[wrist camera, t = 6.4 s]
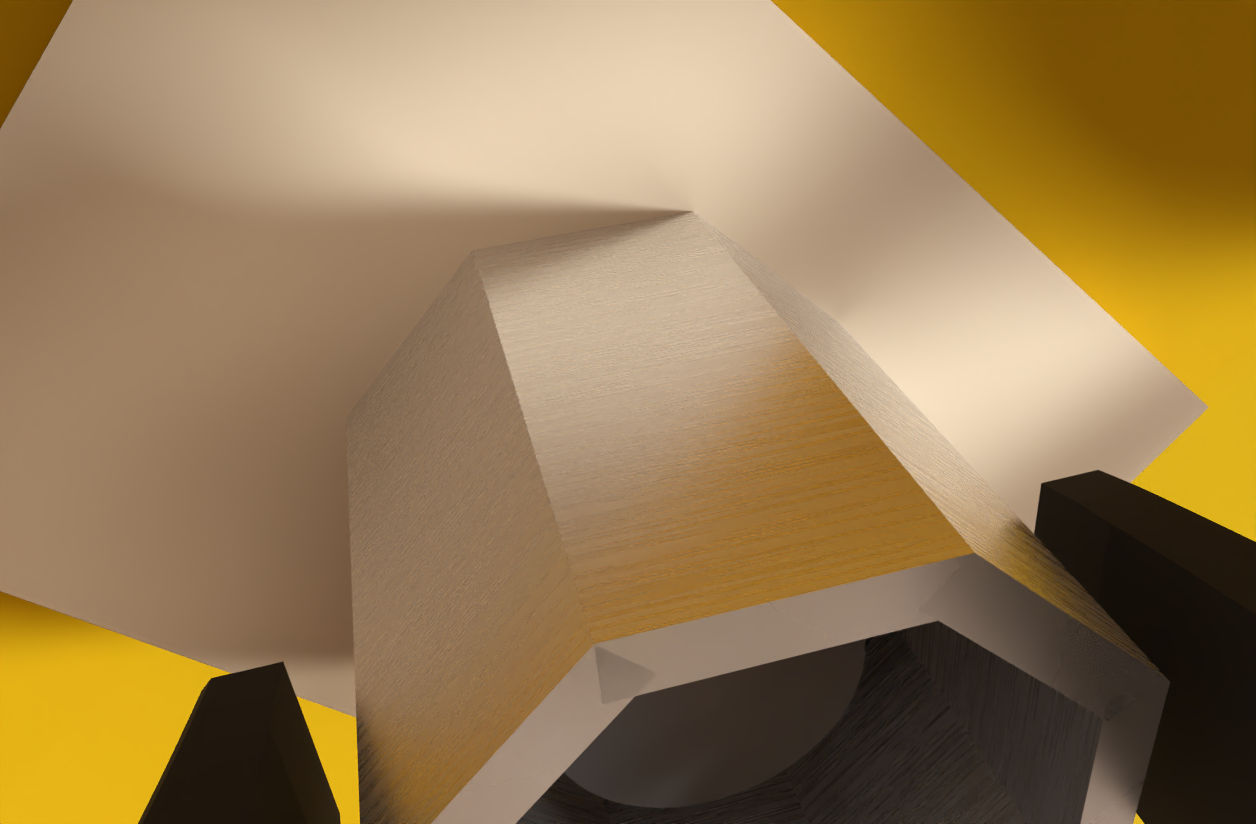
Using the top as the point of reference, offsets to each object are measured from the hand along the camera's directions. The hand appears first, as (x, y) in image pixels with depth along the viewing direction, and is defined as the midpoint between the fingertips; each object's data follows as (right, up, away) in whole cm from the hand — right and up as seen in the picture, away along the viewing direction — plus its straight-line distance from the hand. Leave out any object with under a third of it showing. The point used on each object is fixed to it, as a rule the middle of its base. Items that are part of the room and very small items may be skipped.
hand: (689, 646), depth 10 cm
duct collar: (-1, +2, +3) cm, 3 cm away
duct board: (-1, +2, +4) cm, 4 cm away
